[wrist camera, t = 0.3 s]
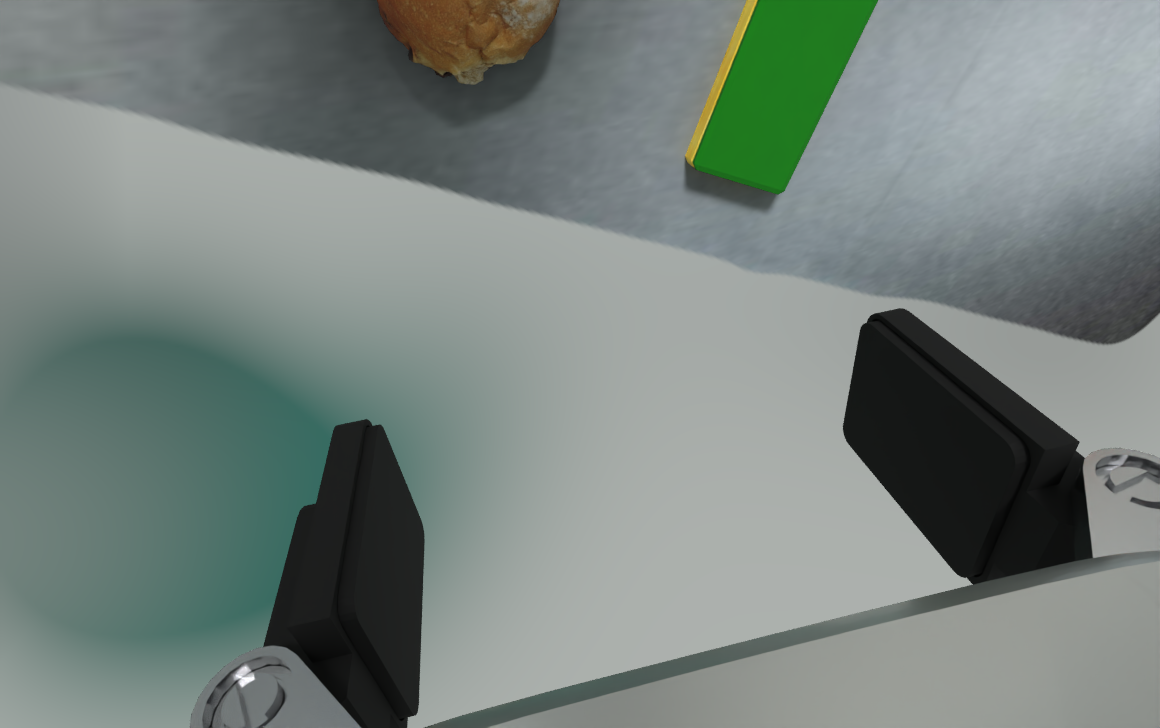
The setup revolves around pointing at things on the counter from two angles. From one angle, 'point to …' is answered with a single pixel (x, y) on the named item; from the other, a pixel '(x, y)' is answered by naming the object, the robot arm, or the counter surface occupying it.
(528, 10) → the bread roll
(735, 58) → the dish sponge
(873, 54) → the counter surface
